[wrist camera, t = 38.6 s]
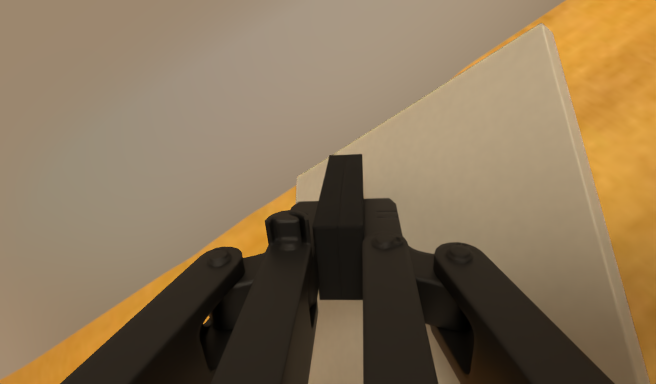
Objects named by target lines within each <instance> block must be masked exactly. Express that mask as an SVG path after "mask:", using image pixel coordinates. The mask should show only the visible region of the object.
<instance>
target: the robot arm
mask: <svg viewBox="0 0 656 384" xmlns="http://www.w3.org/2000/svg"><path fill="white" fill-rule="evenodd" d="M265 225H266V231H267V237H268V243H269V245H268V248H267V250H266V252H265V253H263V254H259V255H256V256H251V257H246V258H243V257H242V252H241V251H240V250H239V249H237V248H233V247H220V248H215V249H213V250H210V251H208V252H206V253H205V254H203V255H202V256H200V257H199V258H198V259H197V260H196V261H195V262H194V263H193V264H191V265H190V266H189V267H188V268H187V269H186V270H185V271H184V272H183V273H182V274H180V275H179V276H178V277H177V278H176V279H175V280H174V281H173V282H172V283H171V284H169V285H168V286H167V287H166V288H165V289H164V290H163V291H162V292H161V293H160V294H158V295H157V296H156V297H155V298H154V299H153V300H152V301H151V302H150V303H148V304H147V305H146V306H145V307H144V308H143V309H142V310H141V311H140V312H139V313H137V314H136V315H135V316H134V317H133V318H132V319H131V320H130V321H129V322H128V323H126V324H125V325H124V326H123V327H122V328H121V329H120V330H119V331H118V332H117V333H115V334H114V335H113V336H112V337H111V338H110V339H109V340H108V341H107V342H106V343H104V344H103V345H102V346H101V347H100V348H99V349H98V350H97V351H96V352H95V353H93V354H92V355H91V356H90V357H89V358H88V359H87V360H86V361H85V362H84V363H82V364H81V365H80V366H79V367H78V368H77V369H76V370H75V371H74V372H73V373H71V374H70V375H69V376H68V377H67V378H66V379H65V380H64V381H63V382H62V383H60V384H308V381H309V374H310V367H311V360H312V353H313V346H314V339H315V332H316V325H317V318H318V303H317V296H318V290H319V299H320V300H363V384H438V379H437V375H436V370H435V366H434V361H433V356H432V352H431V347H430V343H429V338H428V334H427V329H426V325H425V324H428V325H430V328H431V331H432V334H433V335H434V337H435V339H436V341H437V343H438V344H439V346H440V348H441V350H442V352H443V353H444V355H445V357H446V359H447V360H448V362H449V364H450V366H451V368H452V369H453V371H454V373H455V375H456V377H457V378H458V380H459V382H460V384H615V383H614V382H613V381H612V380H611V379H610V378H608V377H607V376H606V375H605V374H604V373H603V372H602V371H601V370H600V369H599V368H598V367H597V366H596V365H595V364H594V363H593V362H592V361H591V360H590V359H589V358H588V357H587V356H586V355H585V354H584V353H583V352H582V351H581V350H580V349H579V348H578V347H577V346H576V345H575V344H574V343H573V342H572V341H571V340H570V339H569V338H568V337H567V336H566V335H565V334H564V333H563V332H562V331H561V330H560V329H559V328H558V327H557V326H556V325H555V324H554V323H553V322H552V321H551V320H550V319H549V318H548V317H547V316H546V315H545V314H544V313H543V312H542V311H541V310H540V309H539V308H538V307H537V306H536V305H535V304H534V303H533V302H532V301H531V300H530V299H529V298H528V297H527V296H526V295H525V294H524V293H523V292H522V291H521V290H520V289H519V288H518V287H517V286H516V285H515V284H514V283H513V282H512V281H511V280H510V279H509V278H508V277H507V276H506V275H505V274H504V273H503V272H502V271H501V270H500V269H499V268H498V267H497V266H496V265H495V264H494V263H493V262H492V261H491V260H490V259H489V258H488V257H487V256H486V255H485V254H484V253H483V252H482V251H481V250H479V249H478V248H476V247H474V246H472V245H469V244H466V243H461V242H449V243H445V244H442V245H440V246H439V247H437V248H436V250H435V253H434V254H432V253H426V252H422V251H418V250H416V249H413V248H411V247H410V246H408V242H407V241H406V239H405V238H404V237H403V235H402V231H401V226H400V221H399V216H398V212H397V206H396V203H394V202H393V201H392V200H391V199H390V198H371V199H364V195H363V163H362V154H350V155H330V156H329V160H328V164H327V168H326V172H325V176H324V180H323V185H322V189H321V193H320V197H319V201H299V202H298V203H296V204H295V205H294V206H293V207H291V210H288V211H281V212H278V213H275V214H273V215H271V216H269V217H268V218H267V219H266V220H265ZM208 315H209V317H210V318H209V319H208V321H207V322H206V323H205V324H203V322H204V321H205V319H206V318H207V317H208Z"/></svg>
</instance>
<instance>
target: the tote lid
mask: <svg viewBox="0 0 656 384" xmlns="http://www.w3.org/2000/svg"><path fill="white" fill-rule="evenodd" d="M350 154H362V163H363V195H364V199H371V198H390V199H391V200H392V201H393V202H394V203H396V206H397V212H398V216H399V221H400V226H401V231H402V235H403V237H404V238H405V239H406V241H407V242H408V246H410V247H411V248H413V249H416V250H418V251H422V252H426V253H432V254H434V253H435V250H436V248H437V247H439V246H440V245H442V244H445V243H449V242H461V243H466V244H469V245H472V246H474V247H476V248H478V249H479V250H481V251H482V252H483V253H484V254H485V255H486V256H487V257H488V258H489V259H490V260H491V261H492V262H493V263H494V264H495V265H496V266H497V267H498V268H499V269H500V270H501V271H502V272H503V273H504V274H505V275H506V276H507V277H508V278H509V279H510V280H511V281H512V282H513V283H514V284H515V285H516V286H517V287H518V288H519V289H520V290H521V291H522V292H523V293H524V294H525V295H526V296H527V297H528V298H529V299H530V300H531V301H532V302H533V303H534V304H535V305H536V306H537V307H538V308H539V309H540V310H541V311H542V312H543V313H544V314H545V315H546V316H547V317H548V318H549V319H550V320H551V321H552V322H553V323H554V324H555V325H556V326H557V327H558V328H559V329H560V330H561V331H562V332H563V333H564V334H565V335H566V336H567V337H568V338H569V339H570V340H571V341H572V342H573V343H574V344H575V345H576V346H577V347H578V348H579V349H580V350H581V351H582V352H583V353H584V354H585V355H586V356H587V357H588V358H589V359H590V360H591V361H592V362H593V363H594V364H595V365H596V366H597V367H598V368H599V369H600V370H601V371H602V372H603V373H604V374H605V375H606V376H607V377H608V378H610V379H611V380H612V381H613V382H614V383H615V384H650V381H649V378H648V374H647V370H646V367H645V363H644V360H643V356H642V352H641V349H640V345H639V342H638V338H637V334H636V331H635V327H634V324H633V320H632V316H631V313H630V309H629V306H628V302H627V298H626V295H625V291H624V288H623V284H622V281H621V277H620V273H619V270H618V266H617V263H616V259H615V255H614V252H613V248H612V245H611V241H610V237H609V234H608V230H607V227H606V223H605V219H604V216H603V212H602V209H601V205H600V201H599V198H598V194H597V191H596V187H595V183H594V180H593V176H592V173H591V169H590V165H589V162H588V158H587V155H586V151H585V147H584V144H583V140H582V137H581V133H580V129H579V126H578V122H577V119H576V115H575V112H574V108H573V104H572V101H571V97H570V94H569V90H568V86H567V83H566V79H565V76H564V72H563V68H562V65H561V61H560V58H559V54H558V50H557V47H556V43H555V40H554V36H553V33H552V32H551V31H550V30H549V29H548V28H547V27H546V26H545V25H544V24H542V23H540V24H538V25H537V26H535V27H534V28H532V29H530V30H529V31H527V32H526V33H524V34H523V35H521V36H519V37H518V38H516V39H515V40H513V41H511V42H510V43H508V44H507V45H505V46H504V47H502V48H500V49H499V50H497V51H496V52H494V53H492V54H491V55H489V56H488V57H486V58H485V59H483V60H481V61H480V62H478V63H477V64H475V65H474V66H472V67H470V68H469V69H467V70H466V71H464V72H462V73H461V74H459V75H458V76H456V77H455V78H453V79H451V80H450V81H448V82H447V83H445V84H443V85H442V86H441V87H439V88H438V89H436V90H434V91H432V92H431V93H429V94H428V95H426V96H424V97H423V98H421V99H420V100H418V101H417V102H415V103H413V104H412V105H410V106H409V107H407V108H406V109H404V110H402V111H401V112H399V113H398V114H396V115H394V116H393V117H391V118H390V119H388V120H386V121H385V122H383V123H382V124H380V125H379V126H377V127H375V128H374V129H373V130H371V131H369V132H368V133H366V134H364V135H363V136H361V137H360V138H358V139H356V140H355V141H353V142H352V143H350V144H349V145H347V146H345V147H344V148H342V149H341V150H339V151H337V152H336V153H334V154H333V155H350ZM328 160H329V157H328V158H326V159H325V160H323V161H322V162H320V163H318V164H317V165H315V166H314V167H312V168H311V169H309V170H307V171H306V172H304V173H303V174H301V175H300V176H298V177H297V188H296V203H298V202H299V201H319V197H320V193H321V189H322V185H323V180H324V176H325V172H326V168H327V164H328ZM317 303H318V318H317V325H316V332H315V339H314V346H313V353H312V360H311V367H310V374H309V381H308V384H363V300H320V299H319V290H318V296H317ZM425 325H426V329H427V334H428V338H429V343H430V347H431V352H432V356H433V361H434V366H435V370H436V375H437V379H438V384H460V382H459V380H458V378H457V377H456V375H455V373H454V371H453V369H452V368H451V366H450V364H449V362H448V360H447V359H446V357H445V355H444V353H443V352H442V350H441V348H440V346H439V344H438V343H437V341H436V339H435V337H434V335H433V334H432V331H431V328H430V325H428V324H425Z"/></svg>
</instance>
